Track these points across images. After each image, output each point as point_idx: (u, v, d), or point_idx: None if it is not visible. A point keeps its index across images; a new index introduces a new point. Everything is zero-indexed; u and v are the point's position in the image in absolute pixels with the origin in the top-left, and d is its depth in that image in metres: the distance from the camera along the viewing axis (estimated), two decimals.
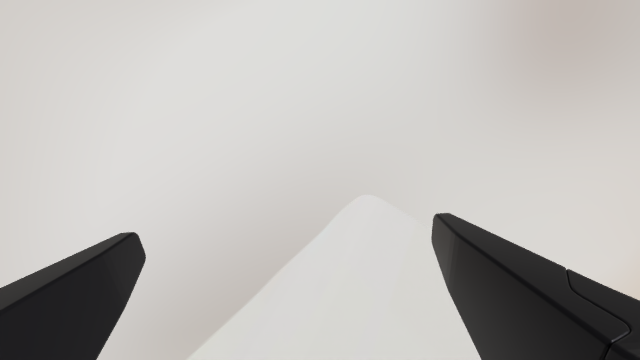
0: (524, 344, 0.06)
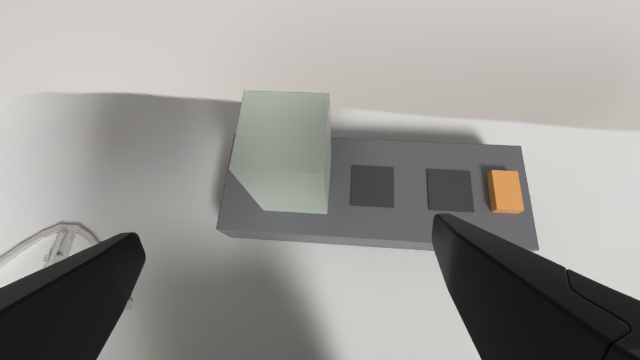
0: (524, 344, 0.06)
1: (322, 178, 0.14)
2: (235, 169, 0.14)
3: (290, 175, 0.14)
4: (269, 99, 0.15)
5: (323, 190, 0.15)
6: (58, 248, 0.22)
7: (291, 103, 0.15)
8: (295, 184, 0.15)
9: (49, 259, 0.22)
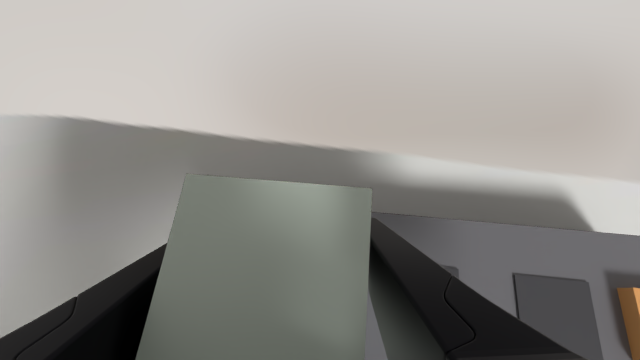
0: (407, 350, 0.06)
1: None
2: None
3: None
4: (239, 197, 0.07)
5: None
6: None
7: (287, 210, 0.07)
8: None
9: None
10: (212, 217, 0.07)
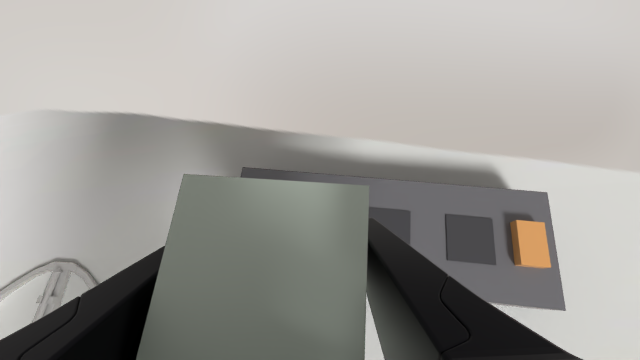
0: (403, 350, 0.06)
1: None
2: None
3: None
4: (237, 197, 0.07)
5: None
6: (52, 288, 0.21)
7: (285, 208, 0.07)
8: None
9: (42, 301, 0.21)
10: (210, 217, 0.07)
